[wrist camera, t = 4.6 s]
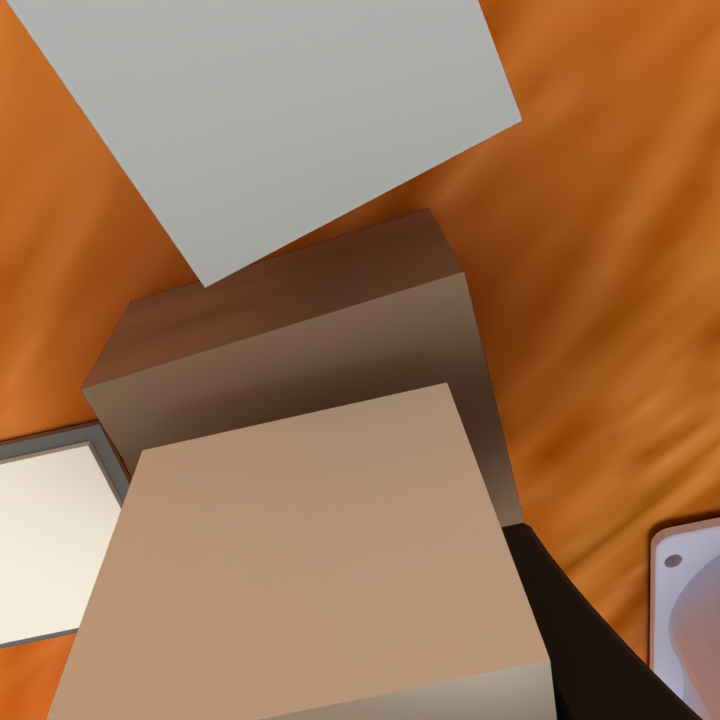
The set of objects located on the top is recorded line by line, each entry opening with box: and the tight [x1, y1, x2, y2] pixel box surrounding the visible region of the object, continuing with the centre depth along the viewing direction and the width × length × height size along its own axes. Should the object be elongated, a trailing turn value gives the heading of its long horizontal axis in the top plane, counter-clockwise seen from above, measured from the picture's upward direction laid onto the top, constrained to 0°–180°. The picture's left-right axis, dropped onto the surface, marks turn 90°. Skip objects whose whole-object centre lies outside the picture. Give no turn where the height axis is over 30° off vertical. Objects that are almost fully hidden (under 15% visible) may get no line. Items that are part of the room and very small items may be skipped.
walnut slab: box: [81, 208, 524, 527], centre depth 15 cm, size 7×7×4 cm
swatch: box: [0, 420, 132, 649], centre depth 18 cm, size 7×7×1 cm
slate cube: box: [6, 0, 522, 288], centre depth 10 cm, size 5×5×5 cm
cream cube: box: [46, 383, 557, 720], centre depth 10 cm, size 5×5×5 cm
